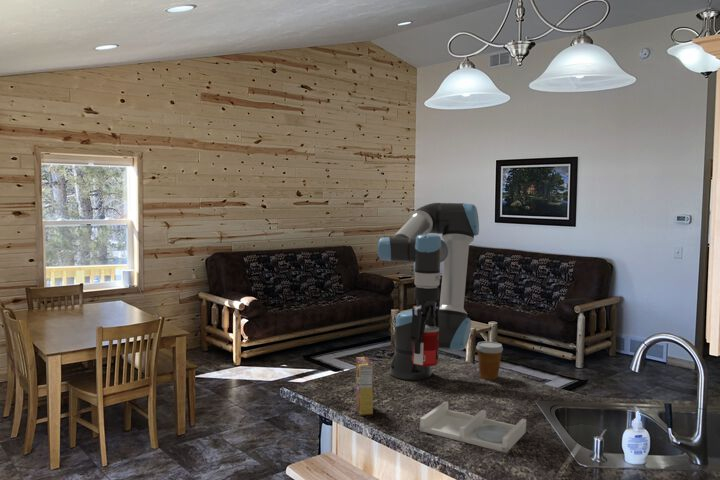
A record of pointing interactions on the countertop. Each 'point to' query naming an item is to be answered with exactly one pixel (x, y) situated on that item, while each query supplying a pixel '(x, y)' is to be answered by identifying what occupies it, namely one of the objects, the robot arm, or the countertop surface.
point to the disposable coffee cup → (489, 359)
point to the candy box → (364, 385)
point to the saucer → (491, 433)
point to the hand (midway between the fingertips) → (424, 360)
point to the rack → (469, 427)
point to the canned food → (429, 346)
